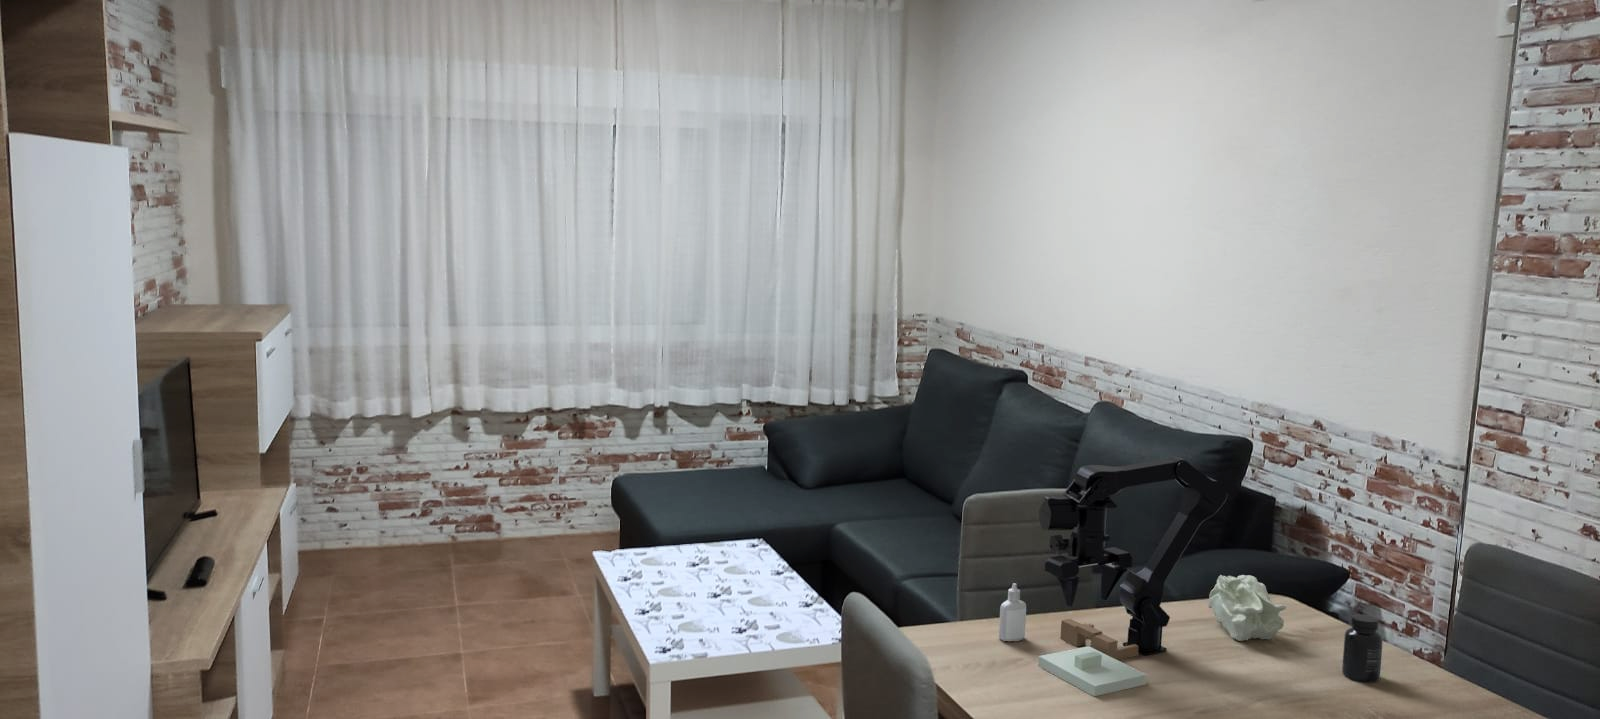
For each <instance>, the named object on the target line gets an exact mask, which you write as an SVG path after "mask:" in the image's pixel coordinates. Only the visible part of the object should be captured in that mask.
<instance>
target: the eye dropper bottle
mask: <svg viewBox="0 0 1600 719" xmlns="http://www.w3.org/2000/svg"><path fill="white" fill-rule="evenodd" d="M1020 599H1021V590H1020V589H1018V586H1017V583H1014V582H1013V583H1012V586H1011V588H1008V592H1007V599H1006V600H1005V601H1004V602H1002V603H1001V605H1000V608H999V610H1000V611H999V622H998V623H999V626H998V627H999V628H998V638H1000V640H1001V641H1002V642H1005V641H1009V642H1008V643H1011V642H1010V641H1015V642H1019V641H1022V640H1023V639H1024V640H1025V637H1026V623H1027V621H1026V620H1027V619H1026V618H1027V604H1026V602H1024V600H1020ZM1017 640H1018V641H1017Z"/></svg>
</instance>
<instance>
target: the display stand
mask: <svg viewBox="0 0 1600 719" xmlns="http://www.w3.org/2000/svg"><path fill="white" fill-rule="evenodd" d="M1037 662H1038V664H1037V666H1038V667H1039V668H1041V669H1043V670H1045V671H1047V672H1048V673H1051V674H1053V676H1056V677H1058V678H1060V679H1062V680H1064V681H1066V682H1067V683H1069V684H1071V685H1073V686H1074V687H1076V688H1078V689H1079V690H1081V691H1084V692H1085V693H1086V694H1088V695H1090V696H1093V697H1098V696H1103V695H1106V694H1111V693H1114V692H1119V691H1124V690H1128V689H1134V688H1136V687H1141V686H1146V684H1147V674H1146V673H1144V672H1142V671H1140V670H1138V669H1136V668H1133V667H1132V666H1130V665H1129V664H1126V663H1124V662H1121V661H1120V660H1119V659H1118V660H1116V659H1114V658H1112V657H1110V656H1108V655H1106V654H1104V653H1102V652H1100V651H1098V650H1096V649H1094V648H1092V647H1091V645H1089V646H1083V647H1077V648H1073V649H1069V650H1062V651H1057V652H1053V653H1047V654H1042V655H1039V656H1038V661H1037Z"/></svg>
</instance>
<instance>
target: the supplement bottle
mask: <svg viewBox="0 0 1600 719" xmlns="http://www.w3.org/2000/svg"><path fill="white" fill-rule="evenodd" d="M1350 620H1351V621H1350V627H1349V628H1347V629H1346V630H1345V632H1344V638H1343V639H1344V641H1343V651H1342V652H1343V653H1342V667H1341V668H1342V669H1341V672H1342V675H1343V676H1344V677H1346V678H1347V677H1348V679H1349V680H1353V681H1356V682H1360V681H1361V682H1360V683H1376V682H1378V681H1379V680H1380V679H1381V672H1382V658H1383V656H1382V655H1383V645H1384V644H1383V643H1384V642H1383V641H1384V638H1383V635H1382V634H1381V632H1379V631H1378V630H1379V619H1378V618H1377V617H1375V616H1373V615H1372V616H1371V615H1368V614H1353V615H1351V618H1350Z"/></svg>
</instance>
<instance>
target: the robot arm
mask: <svg viewBox="0 0 1600 719" xmlns="http://www.w3.org/2000/svg"><path fill="white" fill-rule="evenodd" d="M1172 480H1175V481H1176V482H1177V483H1178V485H1180V486H1181V487H1183V491H1182V493H1181V495H1180V507H1179V511H1178V512H1177V514H1176V515H1175V517H1174V519H1173V520H1172V522H1171V524H1170V525H1169V527H1168V529H1167V531H1166V532H1165V534H1164V535H1163V537H1162V538H1161V540H1160V542H1159V543H1158V545H1157V546H1156V548H1155V550H1154V551H1153V553H1152V554H1151V556H1150V558H1149V560H1148V561H1147V563H1146V565H1145V566H1144V567H1143V569H1141V570H1139V571H1137V572H1134V571H1132V570H1129V571H1128V568H1132V567H1133V557H1132V555H1131V553H1130V552H1129V551H1126V550H1123V549H1121V548H1118V547H1115V546H1114V547H1106V548H1105V543H1106V542H1109V541H1110V535H1108V534H1106V529H1107V528H1106V526H1107V525H1106V524H1107V523H1106V522H1107V509H1116V508H1117V507H1118V505H1117V504H1116V503H1115V501H1113V500H1112V498H1111V496H1115V495H1117V494H1118V493H1119V492H1121V491H1122V490H1124V489H1127V488H1132V487H1137V486H1145V485H1150V484H1155V483H1161V482H1167V481H1172ZM1081 493H1083V495H1082V494H1081ZM1227 499H1228V493H1227V488H1226V486H1225V485H1224V484H1223V483H1222V482H1221V481H1218V480H1216V479H1213V478H1211V477H1209V476H1206V475H1205V474H1203V472H1201V471H1200V470H1198V469H1196V467H1194V466H1192V464H1190V462H1189V461H1188V460H1186V459H1183V458H1181V457H1178V456H1175V455H1173V456H1169V457H1167V458H1163V459H1158V460H1151V461H1145V462H1144V461H1143V462H1139V463H1132V464H1126V465H1121V466H1110V465H1103V464H1086V465H1083V466H1081V467H1080V468H1079V469H1078V471H1076V474H1075V476H1074V479H1073V480H1072V482H1071V483H1070V484H1069V486H1068V487H1067V489H1066V490H1065V491H1064V492H1063V496H1052V495H1046V496H1044V501H1043V502H1042V503H1041V505H1040V509H1039V510H1038V519H1039V524H1040V526H1041V529H1042V530H1043V531H1045V532H1047V531H1048V532H1049V531H1071V533H1070V537H1066V538H1064V537H1063V535H1062V534H1057V535H1050V538H1049V547H1050V548H1049V549H1050V551H1051V552H1056V555H1057V556H1051V557H1047V559H1046V560H1045V563H1044V571H1045V572H1047V573H1050V575H1051V576H1054V577H1055V578H1056V579H1057V580H1058V582H1059V585H1060V587H1061V590H1062V592H1063V595H1064V596H1063V597H1064V599H1065V602H1066V605H1067V607H1069V608H1072V607H1073V605H1074V602H1075V598H1076V594H1077V589H1078V584H1079V581H1080V577H1079V576H1077V575H1078V574H1079V573H1080V569H1084V568H1090V567H1096V566H1098V568H1099V570H1100V573H1101V576H1100V577H1101V578H1100V579H1101V580H1100V596H1101V600H1103V601H1107V600H1108V598H1109V597H1110V595H1111V593H1112V591H1113V590H1114V588H1115V586H1117V583H1118V582H1119V580H1120V579H1121V577H1122V576H1123V575H1124V573H1125V572H1126V573H1127V572H1128V573H1127V574H1126V577H1125V580H1124V581H1123V582H1122V583H1121V584H1120V585H1119V587H1120V590H1119V592H1118V597H1119V602H1120V603H1121V605H1122V606H1123V607H1124V609H1125V611H1126V613H1127V615H1130V616H1131V617H1132V618H1130V619H1129V627H1127V628H1128V629H1127V640H1126V641H1125V642H1122V647H1123V646H1128V645H1133V644H1136V645H1138V654H1140V655H1142V656H1149V655H1154V654H1158V653H1164V652H1167V649H1168V648H1167V647H1164V646H1162V641H1163V640H1162V639H1163V638H1162V637H1163V627H1167V626H1168V624H1169V621H1170V618H1171V617H1170V615H1169V614H1168V613H1167V612H1166V611H1165V610H1164V609H1163V608H1162V607H1161V604H1162V602H1163V599H1164V594H1165V585H1166V581H1167V579H1168V577H1169V576H1170V574H1171V573H1172V571H1173V569H1174V568H1175V567H1176V565H1177V563H1178V562H1179V559H1180V558H1181V557H1182V555H1183V553H1184V551H1186V548H1187V547H1188V545H1189V543H1190V542H1191V541H1192V539H1193V537H1194V535H1195V534H1196V532H1197V531H1198V529H1199V528H1200V526H1201V524H1203V522H1205V521H1206V520H1208V519H1209V518H1211V517H1213V516H1214V515H1215V514H1217V512H1218V511H1219V510H1220V508H1221V507H1223V505H1224V504H1225V503H1226V500H1227ZM1075 528H1076V529H1075ZM1074 529H1075V530H1074ZM1072 530H1073V531H1072ZM1062 554H1067V556H1068V557H1066V556H1063V555H1062ZM1070 557H1071V558H1074V559H1071V558H1070Z"/></svg>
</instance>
